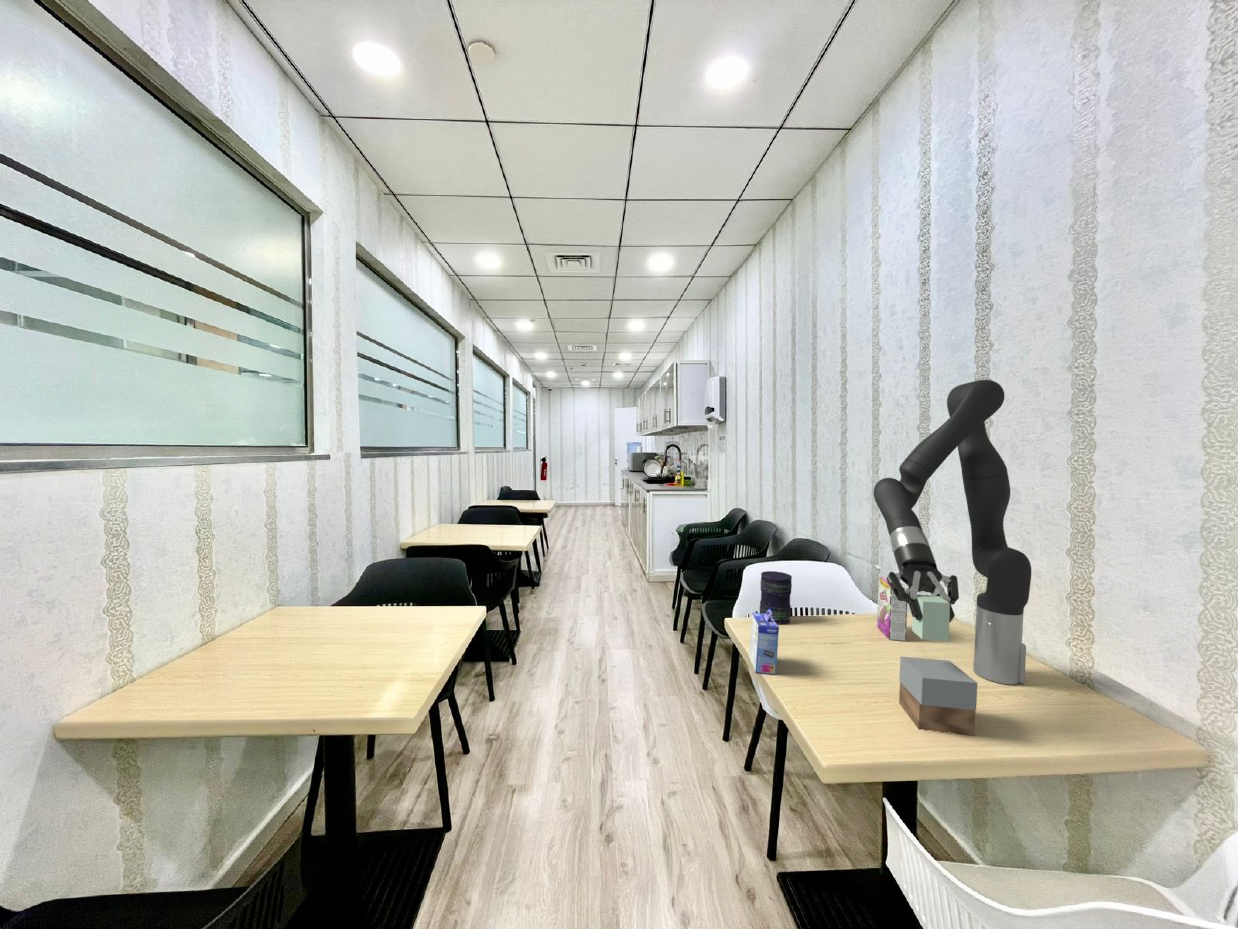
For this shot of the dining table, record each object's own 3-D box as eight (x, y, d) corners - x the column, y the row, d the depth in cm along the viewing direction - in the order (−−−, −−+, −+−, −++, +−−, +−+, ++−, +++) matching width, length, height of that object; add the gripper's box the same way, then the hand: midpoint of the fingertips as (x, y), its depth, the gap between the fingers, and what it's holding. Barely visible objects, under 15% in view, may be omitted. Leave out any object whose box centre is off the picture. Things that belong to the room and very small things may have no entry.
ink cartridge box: (778, 675, 116) (780, 617, 115) (755, 673, 116) (757, 616, 116) (769, 658, 126) (771, 604, 125) (748, 656, 126) (750, 603, 126)
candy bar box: (875, 626, 151) (877, 576, 150) (892, 628, 150) (894, 577, 149) (888, 640, 140) (890, 586, 139) (906, 642, 139) (909, 587, 138)
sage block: (937, 632, 101) (938, 595, 101) (949, 641, 96) (949, 603, 96) (912, 630, 102) (912, 594, 102) (922, 639, 97) (922, 601, 97)
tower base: (948, 710, 102) (950, 685, 102) (974, 737, 92) (975, 710, 92) (898, 704, 104) (900, 680, 104) (918, 730, 94) (919, 703, 94)
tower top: (948, 685, 102) (949, 660, 102) (976, 710, 92) (977, 683, 92) (899, 680, 104) (900, 656, 103) (921, 704, 94) (922, 677, 94)
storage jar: (764, 612, 162) (766, 569, 161) (794, 618, 156) (795, 574, 156) (754, 620, 154) (756, 575, 153) (785, 627, 148) (787, 581, 148)
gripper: (882, 540, 107) (902, 609, 96) (952, 542, 105) (981, 614, 93) (874, 557, 113) (892, 625, 101) (940, 560, 110) (966, 630, 98)
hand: (934, 619), depth 97 cm, fingers closed on sage block, 5 cm apart
